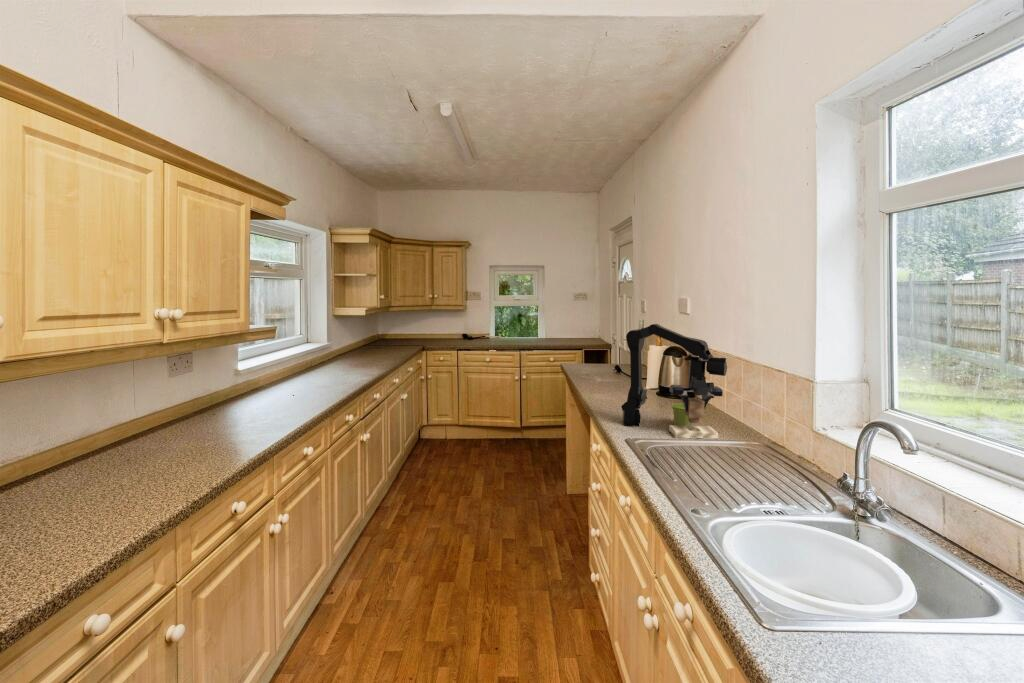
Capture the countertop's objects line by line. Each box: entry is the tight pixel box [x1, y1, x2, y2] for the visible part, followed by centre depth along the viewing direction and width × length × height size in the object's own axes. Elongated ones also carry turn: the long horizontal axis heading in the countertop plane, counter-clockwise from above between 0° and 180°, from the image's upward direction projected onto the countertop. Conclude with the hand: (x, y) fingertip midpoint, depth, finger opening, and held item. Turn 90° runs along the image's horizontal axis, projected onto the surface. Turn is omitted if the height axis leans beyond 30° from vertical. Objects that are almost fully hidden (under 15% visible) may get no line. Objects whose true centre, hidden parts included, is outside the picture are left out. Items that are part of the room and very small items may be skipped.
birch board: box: [668, 424, 719, 439], centre depth 196 cm, size 16×10×2 cm, turn 87°
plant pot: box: [671, 403, 692, 426], centre depth 208 cm, size 9×9×9 cm
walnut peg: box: [685, 397, 705, 424], centre depth 195 cm, size 6×6×9 cm
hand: (694, 412), depth 195 cm, fingers closed on walnut peg, 5 cm apart
